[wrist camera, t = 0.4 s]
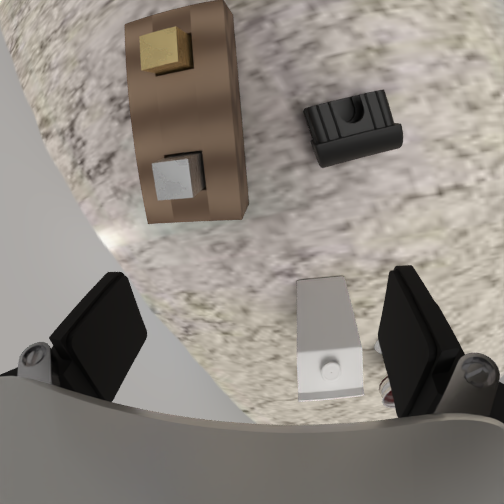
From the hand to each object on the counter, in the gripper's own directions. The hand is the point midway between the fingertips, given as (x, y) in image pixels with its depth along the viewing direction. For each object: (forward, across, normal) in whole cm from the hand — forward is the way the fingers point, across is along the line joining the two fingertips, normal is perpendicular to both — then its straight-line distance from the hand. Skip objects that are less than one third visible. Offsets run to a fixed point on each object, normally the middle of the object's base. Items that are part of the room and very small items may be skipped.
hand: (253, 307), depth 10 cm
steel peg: (+25, +10, -1) cm, 27 cm away
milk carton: (+30, -5, +21) cm, 36 cm away
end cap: (+30, -9, -4) cm, 31 cm away
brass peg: (+26, +10, -15) cm, 31 cm away
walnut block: (+29, +10, -8) cm, 32 cm away
